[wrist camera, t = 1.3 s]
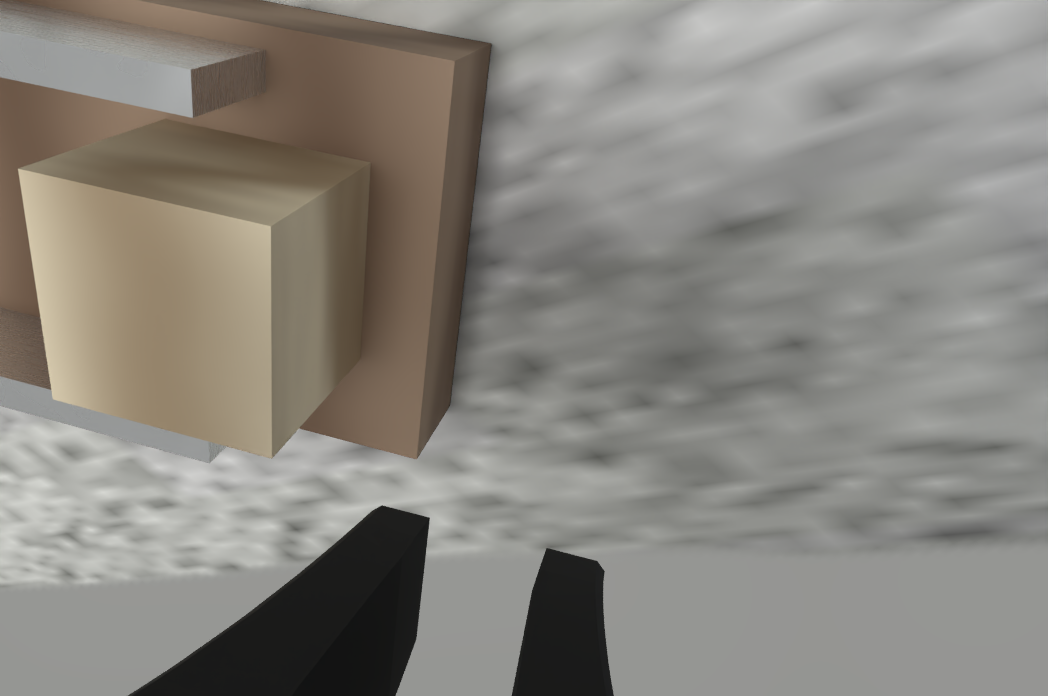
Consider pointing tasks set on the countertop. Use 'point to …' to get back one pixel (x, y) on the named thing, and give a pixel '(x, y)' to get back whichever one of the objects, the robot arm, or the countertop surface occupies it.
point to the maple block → (199, 279)
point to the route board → (330, 127)
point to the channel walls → (127, 77)
